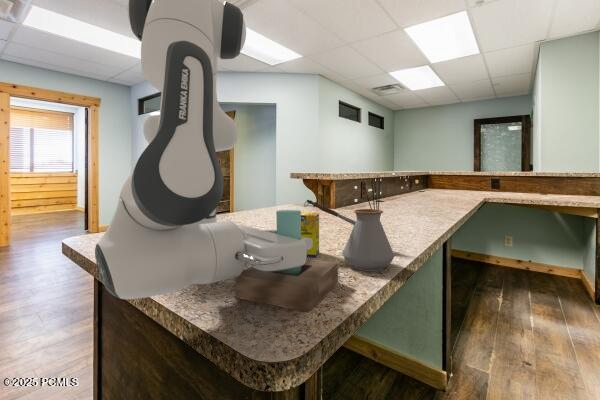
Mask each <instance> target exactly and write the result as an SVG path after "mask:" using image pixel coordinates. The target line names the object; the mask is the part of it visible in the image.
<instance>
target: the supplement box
mask: <svg viewBox="0 0 600 400" xmlns="http://www.w3.org/2000/svg"><path fill="white" fill-rule="evenodd" d="M304 237H307V238H311V239H312V240H313V247H312V248H311V249H308V250H307V258H312V259H314V258H317V256H318V254H319V253H320V212H308V211H307V212H304V211H303V212H302V211H301V238H304Z"/></svg>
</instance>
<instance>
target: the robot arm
mask: <svg viewBox="0 0 600 400" xmlns="http://www.w3.org/2000/svg"><path fill="white" fill-rule="evenodd" d="M127 16H128V17H127V18H128V21H129V23H130V28H131V31H132V34H133V35H134V36H135V37H136V38H137V39H138V41H140V42H141V44H140V63H141V64H140V65H141V73H142V74H143V76H144V77H145V79H146V81H147V82H148V83H149V84H150V85H151V86H152V87H153V88H155V89H156V90H157V91H159V92H161V94H160V103H159V104H160V105H159V111H158V112H157V111H156V112H151V113H150V114H149V115H148V116H146V119H144V123H143V130H142V131H143V136H144V138H145V141H146V142H147V143H148V145H147V146H146V148H145V149H144V150H143V152H142V153H141V154H140V156H139V158H138V160H137V162H136V164H135V166H134V168H133V170H132V172H131V173H130V174H129V176H128V177H127V179H126V181H125V182H124V184H123V185H122V188H121V189H120V193H119V197H118V201H117V205H116V209H115V211H114V214H113V216H112V219H111V221H110V223H109V224H108V227H107V229H106V230H105V232H104V233H103V236H101V238H100V239H99V240H98V242H97V243H96V244H95V248H94V258H95V261H96V262H95V263H96V267H97V271H98V274H99V276H100V280H101V282H102V284H103V286H104V288H105V289H106V290H107V292H109V294H111V295H112V296H113V297H115V298H118V299H121V300H137V299H145V298H151V297H156V296H163V295H166V294H170V293H174V292H179V291H182V290H183V289H185V288H187V287H188V286H192V285H207V284H213V283H217V282H221V281H225V280H229V279H235V277H238V276H239V275H240V274H241V273H242V271H244V270H245V267H247V266H249V267H253V268H256V269H258V270H261V271H279V270H284V269H290V268H295V267H300V266H303V265H304V264H305V263H306V260H307V259H308V257H307V250H308V249H311V248H312V247H313V240H312V239H311V238H307V237H304V238H299V240H298V239H294V238H291V237H287V236H283V235H279V234H277V229H269V230H268V229H267V230H265V229H259V228H255V227H252V226H247V225H242V224H236V223H235V222H233V221H230V220H228V221H218V219H217V211H218V206H219V204H220V202H221V200H222V197H223V193H224V186H225V185H224V184H225V181H224V173H223V170H222V166H221V164H220V161H219V158H218V154H217V152H223V151H228V150H233V148H234V147H235V146H236V145H237V143H238V139H239V129H238V126H237V124H236V122H235V120H234V119H233V118H232V117H230V116H229V115H228V114H227V113H226V112H225V111H224V110H223V109H222V108H221V106H220V103H219V101H218V95H217V75H218V58H220V60H233V59H235V58H236V57H238V56H239V55H240V54H241V51H242V50H243V48H244V45H245V42H246V37H247V28H246V27H247V26H246V23H245V22H246V21H245V18H244V13H243V12H242V11H241V8H239V6H237V5H235V4H233V3H230V2H228V1H224V2H223V1H222V0H221V1H220V0H128V2H127Z"/></svg>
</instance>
